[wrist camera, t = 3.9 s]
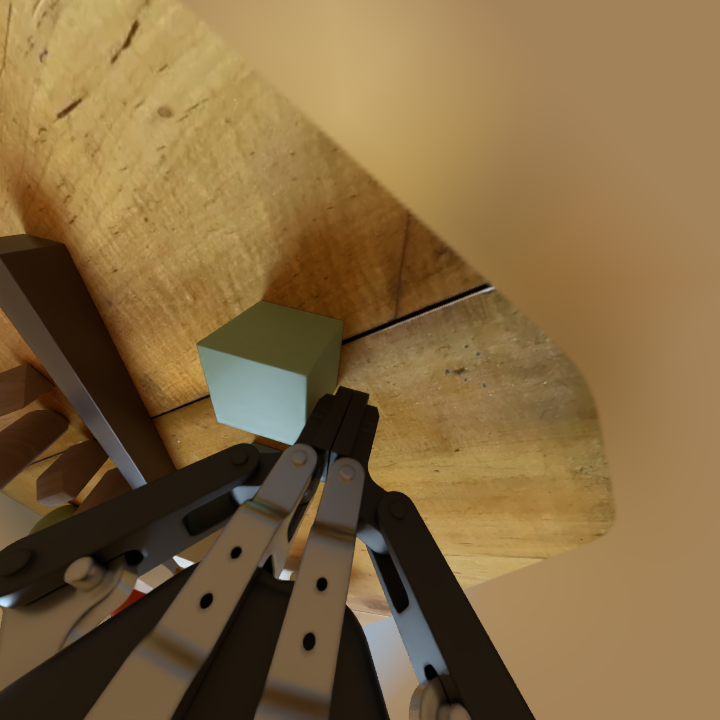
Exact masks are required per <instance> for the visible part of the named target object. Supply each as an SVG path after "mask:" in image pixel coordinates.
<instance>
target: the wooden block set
mask: <svg viewBox="0 0 720 720" xmlns="http://www.w3.org/2000/svg"><path fill="white" fill-rule="evenodd" d="M54 387H55V386H54V385H53V384H52V383H50V382H49V381H48V380H47V379H45V378H44V377H43V376H42V375H41V374H39V373H38V372H37V371H36V370H35V369H33V368H32V367H31V366H30V365H29V364H27V363H26V364H24V365H21V366H18V367H16V368H13V369H10V370H8V371H5V372H2V373H0V416H3V415H6V414H8V413H11V412H14V411H17V410H19V409H22V408H24V407H26V406H27V405H29V404H30V403H32V402H33V401H35V400H36V399H37V398H39V397H40V396H42V395H43V394H45V393H46V392H48V391H49V390H51V389H52V388H54ZM68 425H69V424H68V422H67V420H66V419H65V418H64V417H63V416H61V415H60V414H58V413H55V412H52V411H47V410H37V411H32V412H29V413H27V414H25V415H24V416H22V417H21V418H20V419H18V420H17V421H15V422H14V423H13V424H11V425H10V426H8V427H7V428H6V429H4V430H3V431H1V432H0V490H2V489H3V488H4V487H5V486H6V485H7V484H8V483H9V482H10V481H12V480H13V479H14V478H15V477H16V476H17V475H18V474H19V473H21V472H22V471H23V470H24V469H25V468H26V467H27V466H28V465H29V464H31V463H32V462H33V461H34V460H35V459H36V458H37V457H38V456H39V455H41V454H42V453H43V452H44V451H45V450H46V449H47V448H48V447H50V446H51V445H52V444H53V443H54V442H55V441H56V440H57V439H58V438H60V437H61V436H62V435H63V434H64V433H65V432H66V431H67V430H68ZM108 458H109V456H108V454H107V453H106V451H105V450H104V449H103V447H102V446H101V445H100V444H99V443H98V442H97V441H95V440H94V439H90V440H87V441H84V442H82V443H79V444H76V445H74V446H71V447H69V448H68V449H67V450H66V451H65V452H64V453H63V454H62V455H61V456H60V457H59V458H58V459H57V460H56V461H55V462H54V463H53V464H52V465H51V466H50V467H49V468H48V469H47V470H46V471H45V472H44V473H43V474H42V475H41V476H40V477H39V478H38V479H37V481H36V485H37V501H38V502H40V503H42V504H43V505H45V506H47V507H54V506H56V505H59V504H62V503H65V502H67V501H70V500H73V499H75V498H76V497H77V495H78V494H79V493H80V492H81V491H82V489H83V488H84V487H85V486H86V485H87V483H88V482H89V481H90V480H91V478H92V477H93V476H94V475H95V474H96V472H97V471H98V470H99V469H100V468H101V466H102V465H103V464H104V463H105V462H106V460H107V459H108ZM131 490H133V489H132V487H131V486H130V484H129V483H128V482H127V480H126V479H125V478H124V476H123V475H122V473H121V472H120V471H119V469H118V468H114V469H111V470H109V471H107V472H106V473H105V475H104V476H103V477H102V479H101V480H100V481H99V482H98V484H97V485H96V486H95V487H94V489H93V490H92V491H91V493H90V494H89V495H88V496H87V498H86V499H85V500H84V501H83V503H82V504H81V505H80V506H79V508H78V509H77V510H76V512H75V513H74V514H73V515H72V516H74V515H77V514H79V513H81V512H83V511H86V510H88V509H90V508H92V507H95V506H97V505H99V504H102V503H104V502H106V501H108V500H111V499H113V498H115V497H118V496H120V495H122V494H124V493H127V492H129V491H131Z"/></svg>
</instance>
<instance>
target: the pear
mask: <svg viewBox="0 0 720 720" xmlns="http://www.w3.org/2000/svg"><path fill="white" fill-rule="evenodd" d="M78 508H79V507H77V506H73V505H65V506H61V507H59V508H56V509H55V510H53V511H51V512H50V513H48V514H47V515H46V516H44V517H43V518H42V519H41V520H40V521H39V522H38V523H37V524H36V525H35V526H34V527H33V529H32V530H31V532H30V533H29V535H31V534H33V533H35V532H38V531H40V530H42V529H45V528H47V527H49V526H51V525H54V524H56V523H58V522H61V521H63V520H65V519H67V518H70V517H72V515H73V514H74V513H75V512H76V510H77V509H78ZM29 535H28V536H29Z"/></svg>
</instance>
